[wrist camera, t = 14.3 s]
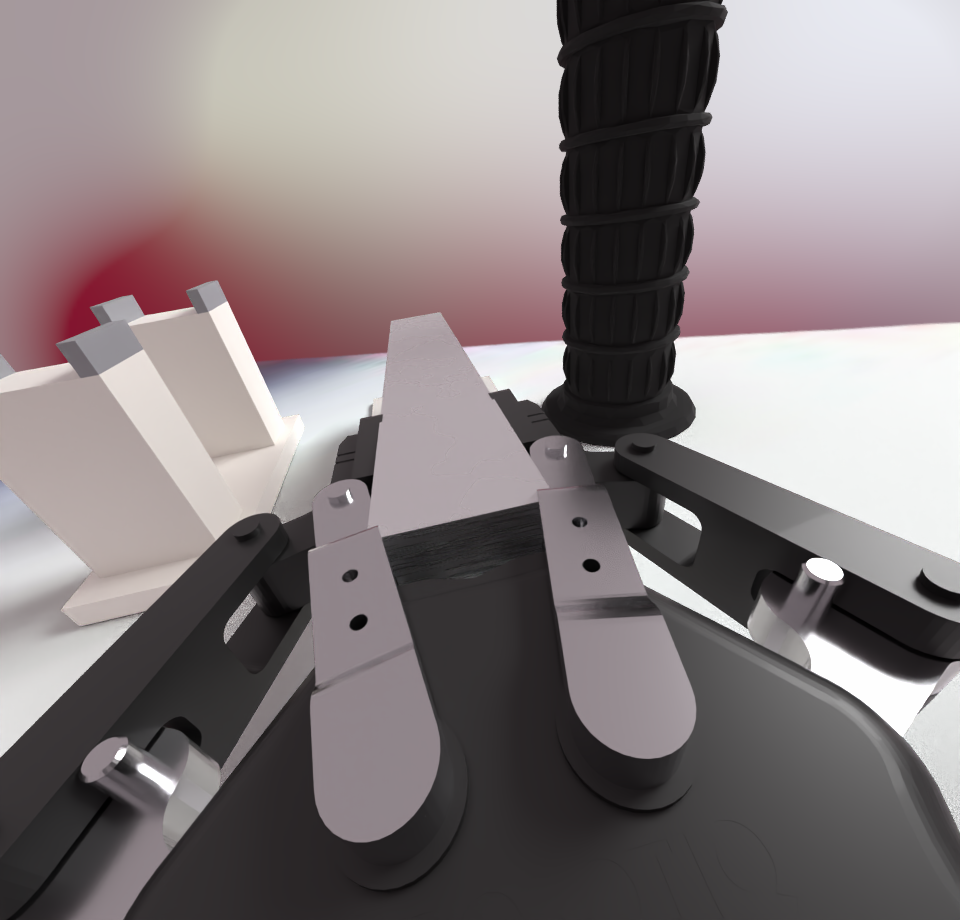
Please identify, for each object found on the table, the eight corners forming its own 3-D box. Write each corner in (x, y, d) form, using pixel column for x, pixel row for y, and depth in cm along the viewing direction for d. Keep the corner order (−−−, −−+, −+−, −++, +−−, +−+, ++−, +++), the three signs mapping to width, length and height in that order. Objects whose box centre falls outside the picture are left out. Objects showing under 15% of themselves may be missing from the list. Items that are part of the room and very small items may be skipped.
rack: (304, 427, 31) (238, 274, 25) (241, 588, 18) (68, 350, 12) (213, 446, 31) (122, 294, 25) (79, 626, 18) (-191, 396, 11)
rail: (403, 369, 30) (391, 321, 28) (449, 360, 30) (440, 312, 28) (411, 661, 9) (365, 540, 7) (563, 622, 9) (555, 497, 7)
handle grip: (650, 466, 22) (720, 395, 27) (811, -765, 7) (895, -387, 12) (512, 419, 28) (591, 369, 33) (444, -271, 13) (604, -164, 19)
